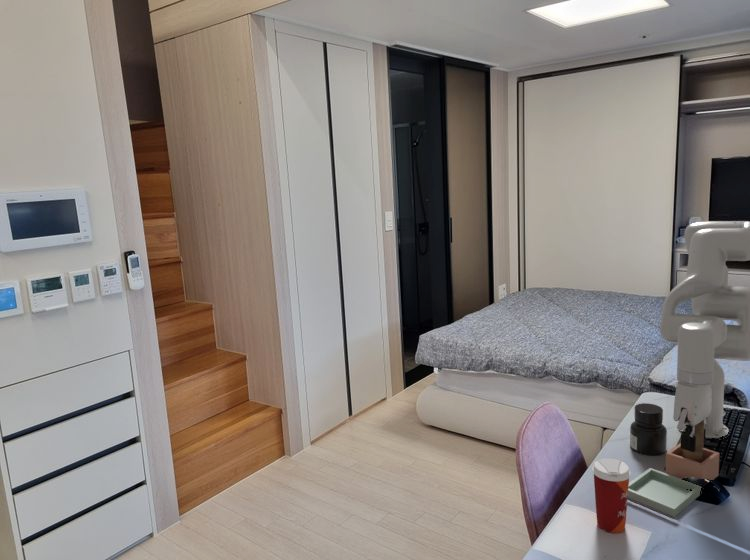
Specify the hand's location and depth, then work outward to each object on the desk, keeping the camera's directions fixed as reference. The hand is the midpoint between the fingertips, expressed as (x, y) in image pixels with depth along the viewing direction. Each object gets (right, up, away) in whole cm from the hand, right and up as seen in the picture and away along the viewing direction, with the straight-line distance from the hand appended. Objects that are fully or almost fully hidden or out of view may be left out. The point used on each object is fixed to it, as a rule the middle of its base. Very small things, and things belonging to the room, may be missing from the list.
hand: (692, 445), depth 138 cm
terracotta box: (0, -8, +1) cm, 8 cm away
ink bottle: (-3, -6, +16) cm, 17 cm away
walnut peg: (+1, -7, +1) cm, 7 cm away
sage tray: (-11, -10, -6) cm, 16 cm away
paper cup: (-26, -13, -15) cm, 33 cm away
